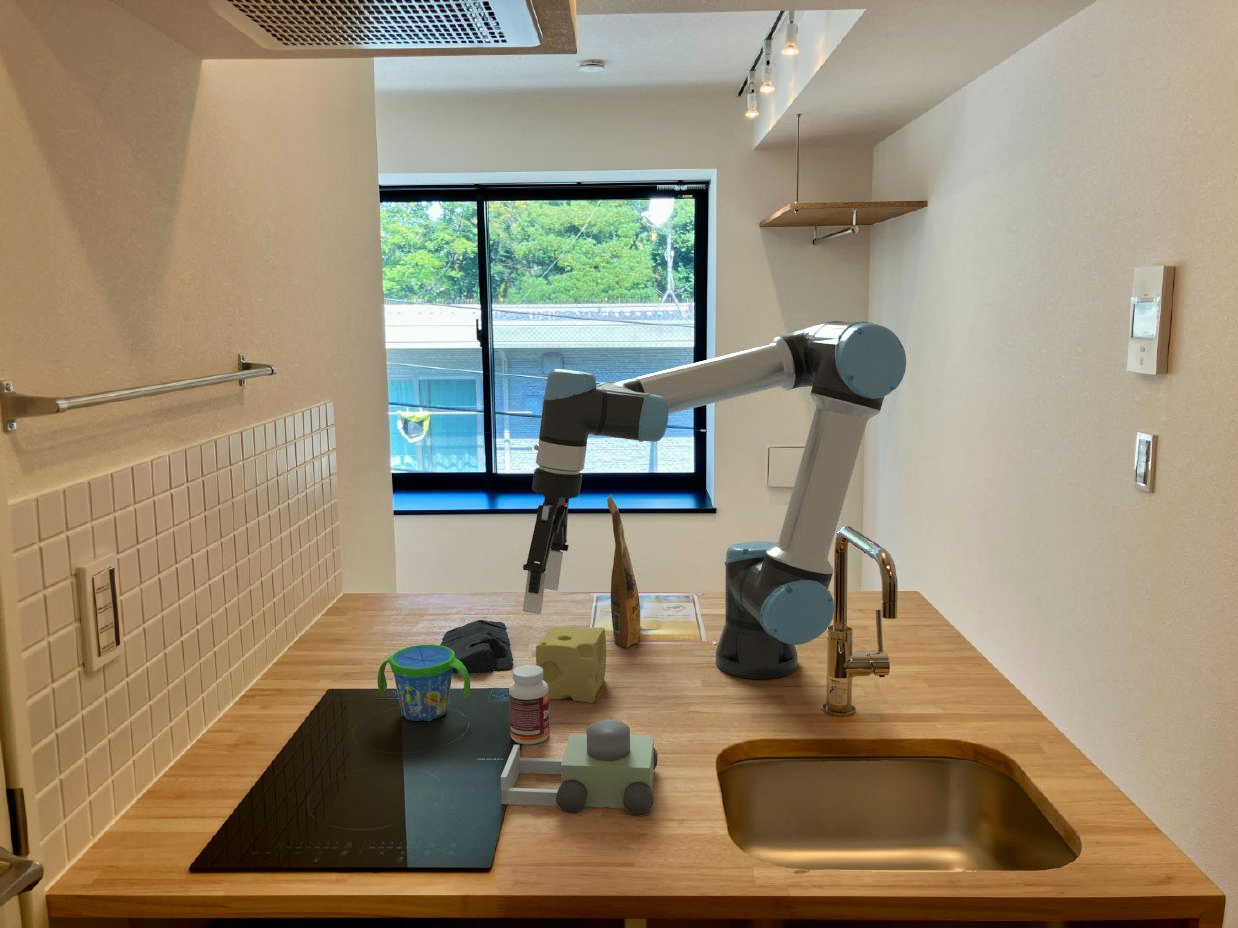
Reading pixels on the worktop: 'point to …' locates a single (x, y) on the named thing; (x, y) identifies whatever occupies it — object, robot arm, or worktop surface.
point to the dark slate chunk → (480, 646)
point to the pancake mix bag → (623, 587)
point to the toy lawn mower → (590, 772)
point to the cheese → (573, 662)
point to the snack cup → (423, 680)
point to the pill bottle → (529, 705)
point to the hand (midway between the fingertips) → (540, 600)
